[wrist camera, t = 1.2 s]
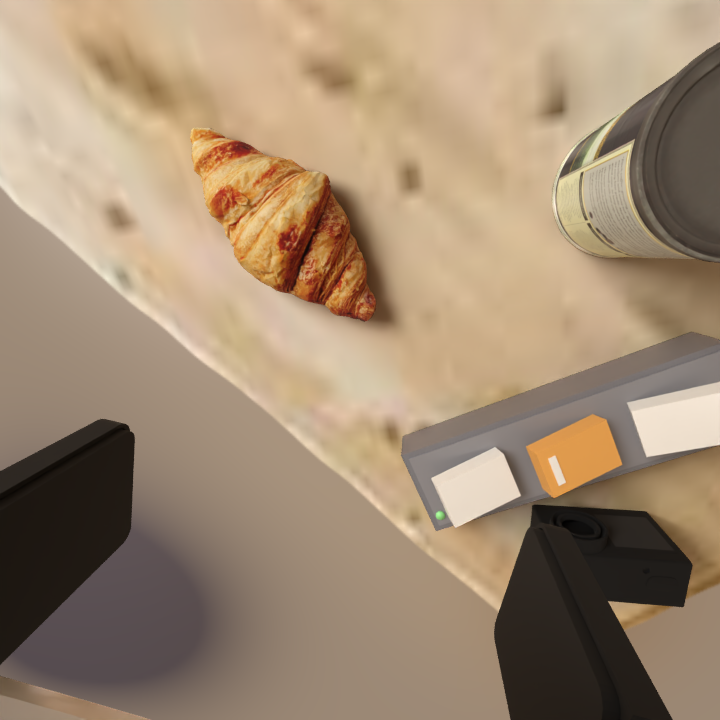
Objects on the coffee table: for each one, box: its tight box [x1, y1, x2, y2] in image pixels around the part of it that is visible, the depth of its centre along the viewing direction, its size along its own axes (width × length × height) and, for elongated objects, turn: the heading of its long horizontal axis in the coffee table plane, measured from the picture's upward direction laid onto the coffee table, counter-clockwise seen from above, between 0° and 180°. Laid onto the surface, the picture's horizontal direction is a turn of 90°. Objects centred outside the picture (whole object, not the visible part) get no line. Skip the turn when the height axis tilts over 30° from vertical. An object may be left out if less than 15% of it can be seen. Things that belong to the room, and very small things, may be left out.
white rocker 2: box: [627, 382, 720, 457], centre depth 31 cm, size 6×4×2 cm, turn 116°
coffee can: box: [552, 42, 720, 263], centre depth 26 cm, size 10×10×14 cm
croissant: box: [190, 128, 376, 322], centre depth 35 cm, size 21×10×8 cm, turn 47°
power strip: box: [401, 332, 720, 531], centre depth 36 cm, size 32×8×4 cm, turn 115°
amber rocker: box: [526, 414, 622, 498], centre depth 33 cm, size 6×4×2 cm, turn 114°
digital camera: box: [530, 505, 692, 607], centre depth 37 cm, size 10×5×7 cm, turn 91°
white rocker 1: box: [431, 447, 521, 528], centre depth 35 cm, size 6×4×2 cm, turn 114°
